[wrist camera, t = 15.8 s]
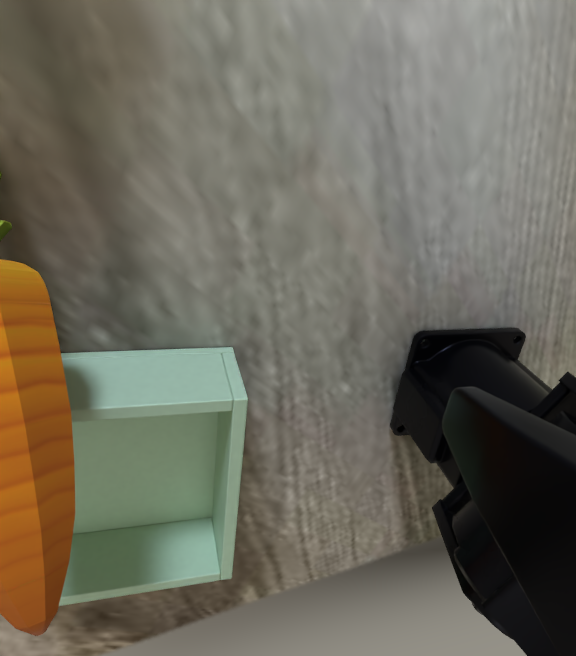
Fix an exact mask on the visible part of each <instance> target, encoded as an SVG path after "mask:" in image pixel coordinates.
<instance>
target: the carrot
mask: <svg viewBox="0 0 576 656" xmlns="http://www.w3.org/2000/svg"><path fill="white" fill-rule="evenodd" d="M1 176H2V174H1V172H0V179H1ZM11 229H12V226H11V223H9V222H7V221H4V220H0V241H1V240H2V239H3V237H4V236H5V235H6V234H7V233H8V232H9V231H10V230H11ZM74 520H75V469H74V449H73V433H72V417H71V409H70V403H69V397H68V391H67V386H66V380H65V374H64V368H63V363H62V357H61V351H60V347H59V342H58V337H57V332H56V327H55V322H54V318H53V313H52V308H51V303H50V298H49V294H48V291H47V288H46V285H45V283H44V281H43V279H42V278H41V276H40V274H39V273H38V272H37V271H35V270H34V269H32V268H30V267H29V266H27V265H25V264H23V263H19V262H15V261H10V260H1V259H0V614H1V615H2V616H3V617H4V618H5V619H6V620H7V621H8V622H9V623H11V624H12V625H13V626H14V627H15V628H16V629H18V630H21V631H24V632H27V633H29V634H32V635H35V636H38V635H41V634H43V633H44V632H45V631H46V630H47V628H48V626H49V625H50V623H51V621H52V620H53V618H54V616H55V614H56V613H57V610H58V606H59V602H60V598H61V594H62V590H63V586H64V581H65V577H66V573H67V569H68V565H69V561H70V552H71V544H72V536H73V528H74Z"/></svg>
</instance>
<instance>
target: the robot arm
mask: <svg viewBox="0 0 576 656" xmlns="http://www.w3.org/2000/svg"><path fill="white" fill-rule="evenodd" d="M515 337H516V338H515ZM514 338H515V339H514ZM525 338H526V336H525V333H523V332H522V331H521V330H520V329H518V328H500V329H466V330H433V331H420V332H419V333H417V334H416V335H415V336H414V338H413V341H412V344H411V348H410V352H409V356H408V360H407V363H406V367H405V371H404V372H403V374H402V377H401V381H400V385H399V389H398V393H397V397H396V400H395V404H394V408H393V410H394V413H393V417H392V420H391V424H390V428H391V429H392V431H393V433H394V434H395V435H398V436H401V435H410V436H411V437H412V439H413V440H414V441H415V443H416V444H417V446H418V447H419V449H420V450H421V452H422V453H423V455H424V456H425V458H426V459H427V460H428V461H429V462H430V463H437V465H438V466H439V467H440V469H441V470H442V472H443V473H444V475H445V476H446V478H447V479H448V480H449V482H450V483H451V485H452V486H453V488H454V489H453V490H452V491H451V492H450V493H449V494H448V495H447V496H446V497H445V498H444V499H443V500H441V499H440V500H439V501H438V502H437V503H436V504H435V505H434V506H433V507H432V509H433V512H434V515H435V518H436V520H437V523H438V526H439V529H440V532H441V535H442V537H443V540H444V543H445V545H446V548H447V551H448V553H449V556H450V559H451V562H452V564H453V567H454V569H455V572H456V575H457V578H458V580H459V583H460V586H461V588H462V591H463V593H464V594H465V596H466V597H467V598H468V599H469V600H470V601H471V602H472V605H473V606H474V608H475V609H476V610H477V611H478V612H479V613H480V614H482V615H484V616H485V617H486V618H487V619H488V620H489V621H490V622H491V623H492V624H493V625H494V626H495V627H496V628H497V629H499V630H500V631H501V632H502V633H503V634H505V635H506V636H508V637H510V638H511V639H513V640H514V641H515V642H516V643H517V644H518V645H519V646H520V648H521V649H522V650H523V651H524V652H525V653H526V655H527V656H576V377H574V376H573V375H572V374H570V373H569V372H567V373H566V374H565V375H564V376H563V377H562V378H561V379H560V380H559V381H560V383H559V384H558V385H557V386H556V387H555V388H554V389H553V390H552V389H551V388H550V387H548V386H547V385H546V384H545V383H544V382H543V381H541V380H540V379H539V378H538V377H537V376H536V375H534V374H533V373H532V372H531V371H530V370H529V369H527V368H526V367H525V366H524V365H523V364H522V363H521V362H519V361H518V360H517V359H518V357H519V354H520V352H521V349H522V346H523V344H524V341H525ZM424 339H426V340H425V342H423V343H421V342H422V341H423V340H424ZM401 425H402V426H401ZM399 426H400V427H399Z"/></svg>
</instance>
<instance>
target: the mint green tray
mask: <svg viewBox="0 0 576 656" xmlns="http://www.w3.org/2000/svg"><path fill="white" fill-rule="evenodd" d="M61 357H62V363H63V368H64V374H65V380H66V386H67V391H68V397H69V403H70V409H71V417H72V433H73V449H74V469H75V520H74V528H73V536H72V544H71V552H70V561H69V565H68V569H67V573H66V577H65V581H64V586H63V590H62V594H61V598H60V602H59V606H62V605H68V604H74V603H81V602H87V601H93V600H100V599H106V598H112V597H118V596H125V595H131V594H137V593H143V592H150V591H156V590H162V589H168V588H175V587H181V586H187V585H194V584H200V583H206V582H212V581H219V580H225V579H231V578H232V571H233V560H234V549H235V538H236V527H237V516H238V505H239V494H240V483H241V472H242V461H243V450H244V439H245V428H246V417H247V406H248V397H247V394H246V390H245V387H244V384H243V380H242V377H241V374H240V370H239V367H238V364H237V360H236V357H235V354H234V350H233V347H219V348H191V349H163V350H135V351H107V352H79V353H61ZM0 615H1V614H0Z"/></svg>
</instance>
